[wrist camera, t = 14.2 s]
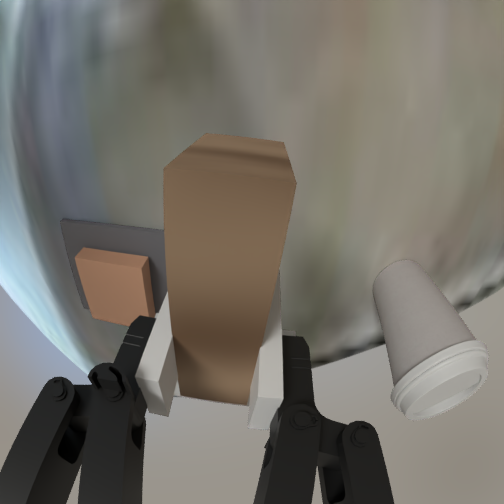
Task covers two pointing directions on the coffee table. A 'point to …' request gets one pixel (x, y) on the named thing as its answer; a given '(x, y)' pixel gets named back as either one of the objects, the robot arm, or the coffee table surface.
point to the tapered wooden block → (224, 258)
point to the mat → (118, 250)
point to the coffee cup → (426, 343)
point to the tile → (116, 285)
